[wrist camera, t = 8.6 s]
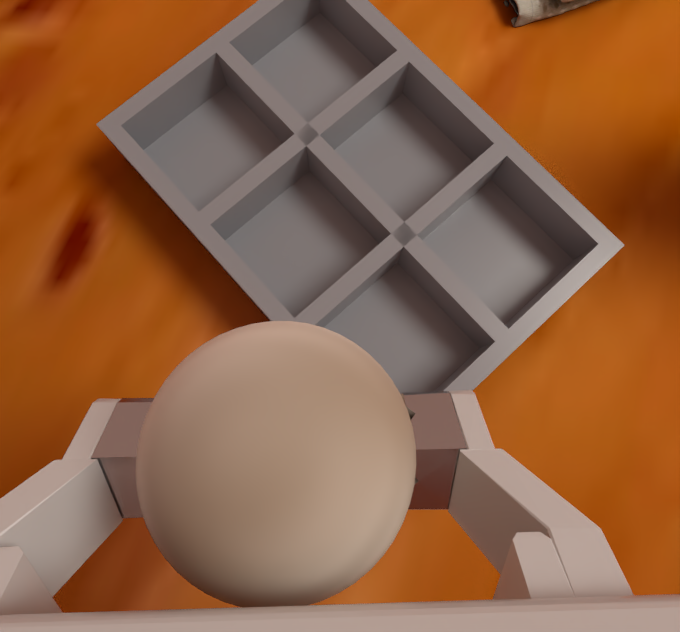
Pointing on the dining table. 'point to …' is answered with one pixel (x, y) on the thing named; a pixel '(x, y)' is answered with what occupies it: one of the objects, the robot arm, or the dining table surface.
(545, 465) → the dining table surface
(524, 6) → the dish towel
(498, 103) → the dining table surface
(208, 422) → the egg
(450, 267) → the gray compartment tray
